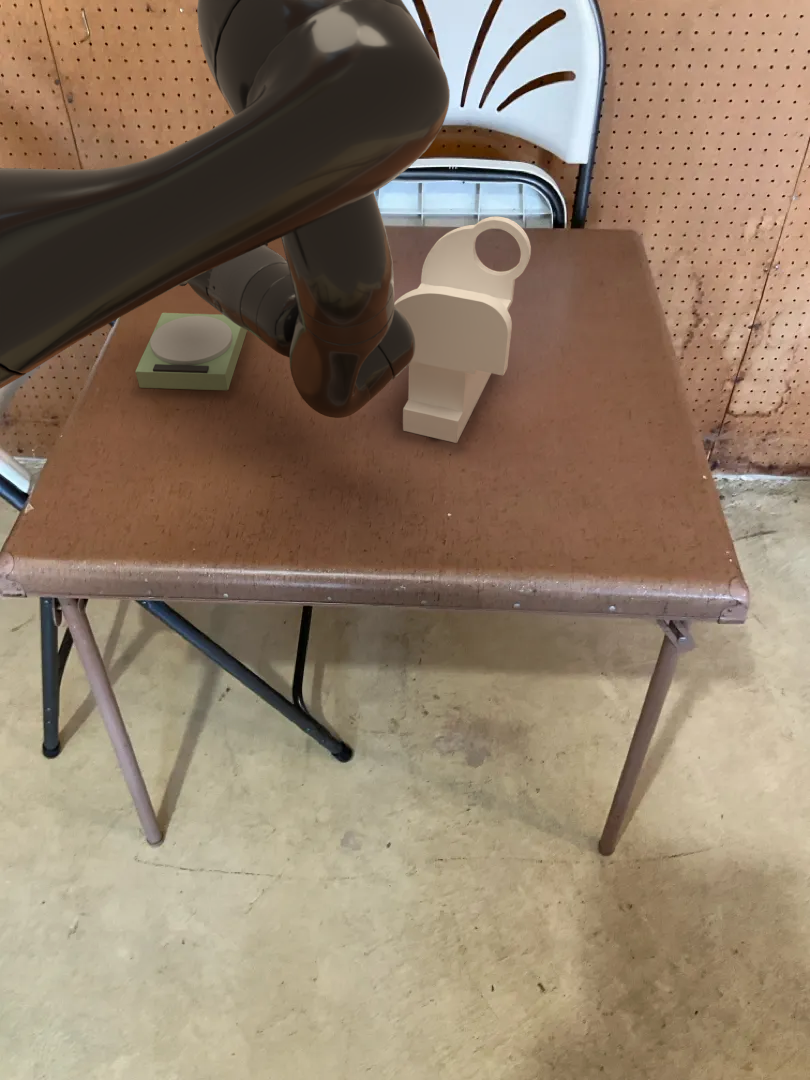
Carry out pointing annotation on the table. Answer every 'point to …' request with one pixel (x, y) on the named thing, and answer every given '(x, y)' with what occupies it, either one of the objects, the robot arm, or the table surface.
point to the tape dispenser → (458, 329)
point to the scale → (191, 352)
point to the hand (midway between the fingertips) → (159, 219)
